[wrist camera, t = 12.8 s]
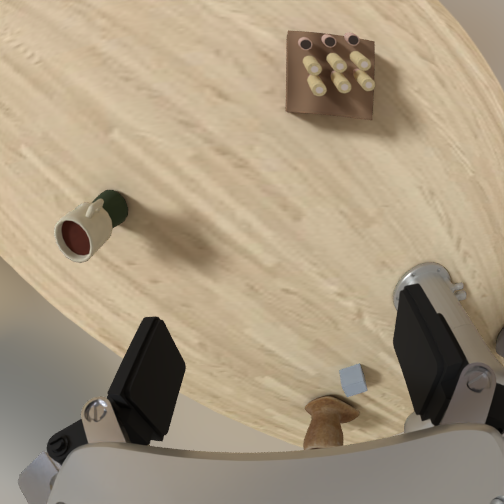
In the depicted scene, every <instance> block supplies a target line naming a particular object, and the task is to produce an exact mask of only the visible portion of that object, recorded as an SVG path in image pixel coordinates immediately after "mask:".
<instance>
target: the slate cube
mask: <svg viewBox="0 0 504 504" xmlns="http://www.w3.org/2000/svg"><path fill="white" fill-rule="evenodd" d="M339 372H340V378H341V385H342V388H343V390H344V392H345V394H346V396H347V397H349V396H353V395H356V394H359V393H362V392H365V391H367V386H366V381H365V377H364V373H363V371H362V368H361V365H360V364H357V365H354V366H351V367H348V368H345V369H342V370H339Z"/></svg>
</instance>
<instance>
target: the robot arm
mask: <svg viewBox="0 0 504 504" xmlns="http://www.w3.org/2000/svg"><path fill="white" fill-rule="evenodd" d="M460 289H463V283H462V282H460V283H456V284H453V283H451V282H450V276H449V274H448V272H447V270H446V269H445V268H444V267H443V266H442V265H440V264H438V263H434V262H427V263H422V264H420V265H417V266H415V267H413V268H412V269H410V270H409V271H408V272H406V273H405V274H404V275H403V276H402V278H401V279H400V280H399V282H398V283H397V285H396V287H395V290H394V294H393V303H394V306H395V308H396V310H397V318H396V325H395V331H394V338H393V345H394V349H395V352H396V355H397V357H398V360H399V363H400V366H401V369H402V372H403V375H404V378H405V381H406V384H407V388H408V391H409V394H410V397H411V401H412V404H413V407H414V412H413V413H411V414H410V415H409V416H408V418H407V419H406V421H405V424H404V434H401V435H396V436H392V437H387V438H382V439H377V440H372V441H367V442H362V443H356V444H350V445H344V446H337V447H329V448H321V449H311V450H301V451H288V452H267V453H265V452H264V453H228V452H205V451H190V450H179V449H170V448H162V447H153V446H150V445H149V444H150V440H155V441H163V437H164V435H166V434H167V433H168V430H169V426H170V423H171V419H172V415H173V412H174V408H175V404H176V401H177V397H178V394H179V390H180V387H181V383H182V380H183V376H184V373H185V369H186V366H185V362H184V360H183V358H182V356H181V354H180V352H179V350H178V349H177V347H176V345H175V343H174V341H173V339H172V337H171V335H170V333H169V331H168V329H167V327H166V325H165V323H164V321H163V320H160V318H159V317H145V318H144V319H143V320H142V322H141V324H140V326H139V328H138V330H137V332H136V334H135V336H134V338H133V340H132V342H131V344H130V346H129V348H128V350H127V352H126V354H125V356H124V358H123V361H122V363H121V365H120V367H119V369H118V371H117V373H116V375H115V378H114V380H113V382H112V384H111V386H110V389H109V391H108V396H107V398H105V397H101V396H100V397H95V398H92V399H90V400H89V401H88V402H87V403H86V404H85V405H84V407H83V408H82V412H81V418H82V419H80V420H79V421H77V422H75V423H73V424H72V425H70V426H68V427H66V428H65V429H63V430H61V431H59V432H58V433H56V434H55V435H53V436H52V437H51V438H50V439H49V442H48V444H47V452H45V451H43V452H42V453H41V454H40V455H39V456H38V457H37V458H36V459H35V460H34V461H33V462H32V463H31V464H30V465H29V466H27V468H25V469H24V470H23V471H22V472H21V474H20V476H19V479H18V484H19V487H20V489H21V491H22V493H23V495H24V496H25V498H26V500H27V502H28V503H29V504H504V367H503V366H502V365H501V364H500V362H499V361H498V360H497V359H496V357H495V356H494V355H493V353H492V352H491V351H490V349H489V347H488V346H487V344H486V343H485V341H484V340H483V338H482V337H481V335H480V333H479V332H478V330H477V328H476V327H475V325H474V324H473V322H472V321H471V319H470V317H469V316H468V314H467V313H466V311H465V310H464V308H463V307H462V305H461V304H460V302H459V301H461V300H464V299H466V292H465V291H464V290H462V291H458V292H455V293H454V291H455V290H460Z"/></svg>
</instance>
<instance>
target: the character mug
mask: <svg viewBox="0 0 504 504" xmlns="http://www.w3.org/2000/svg"><path fill="white" fill-rule="evenodd" d="M127 215H128V207H127V204H126V202H125V200H124V198H123V197H122V196H121V195H120V194H119V193H117V192H116V191H114V190H106V191H104V192H102V193H101V194H100V195H99V196H98V197H97V198H96V199H95V200H94V201H93V202H92V203H89V202H84V203H82V204H80V205H78V206H77V207H76V208H75V209H74V210H72V211H70V212H69V213H67V214H66V215H65V216H64V217H62V218H61V219H60V220H59V221H58V222H57V223H56V225H55V228H54V236H55V240H56V243H57V245H58V247H59V249H60V251H61V252H62V253H63V254H64V255H65V256H66V257H67V258H68V259H70V260H72V261H73V262H78V263H82V262H86V261H88V260H89V259H90V258H91V257H92V256H93V255H94V254H95V253H96V251H97V250H98V249H99V248H100V247H101V246H102V245H103V244H104V243H105V242H106V241H107V240H108V239H109V238H110V236H111V233H112V229H113V228H114V227H116V226H117V225H119V224H120V223H122V222H123V221H124V220H125V219H126V217H127Z"/></svg>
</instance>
